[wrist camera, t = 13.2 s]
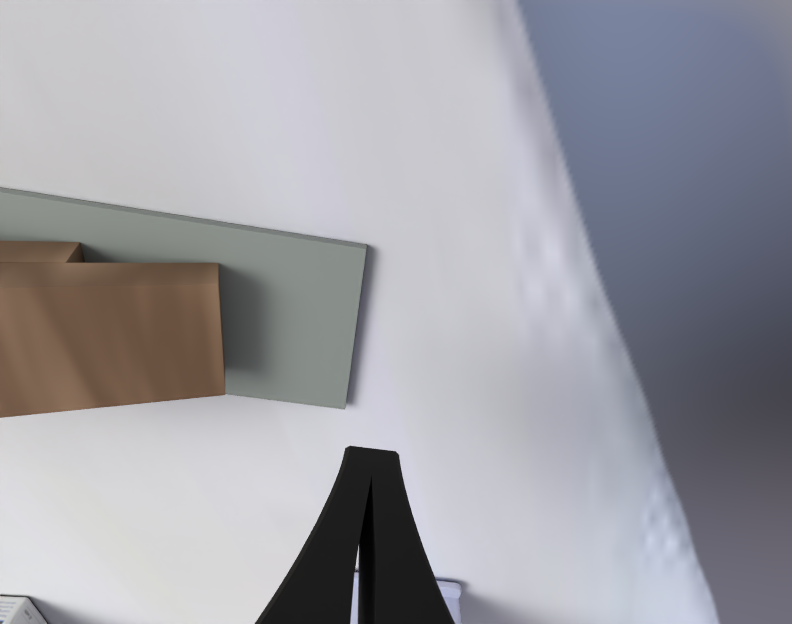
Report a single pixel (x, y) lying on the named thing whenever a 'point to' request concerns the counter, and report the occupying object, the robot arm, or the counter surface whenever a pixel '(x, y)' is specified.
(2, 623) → the light bulb box
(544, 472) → the counter surface
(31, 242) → the domino
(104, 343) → the domino
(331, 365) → the rubber mat
